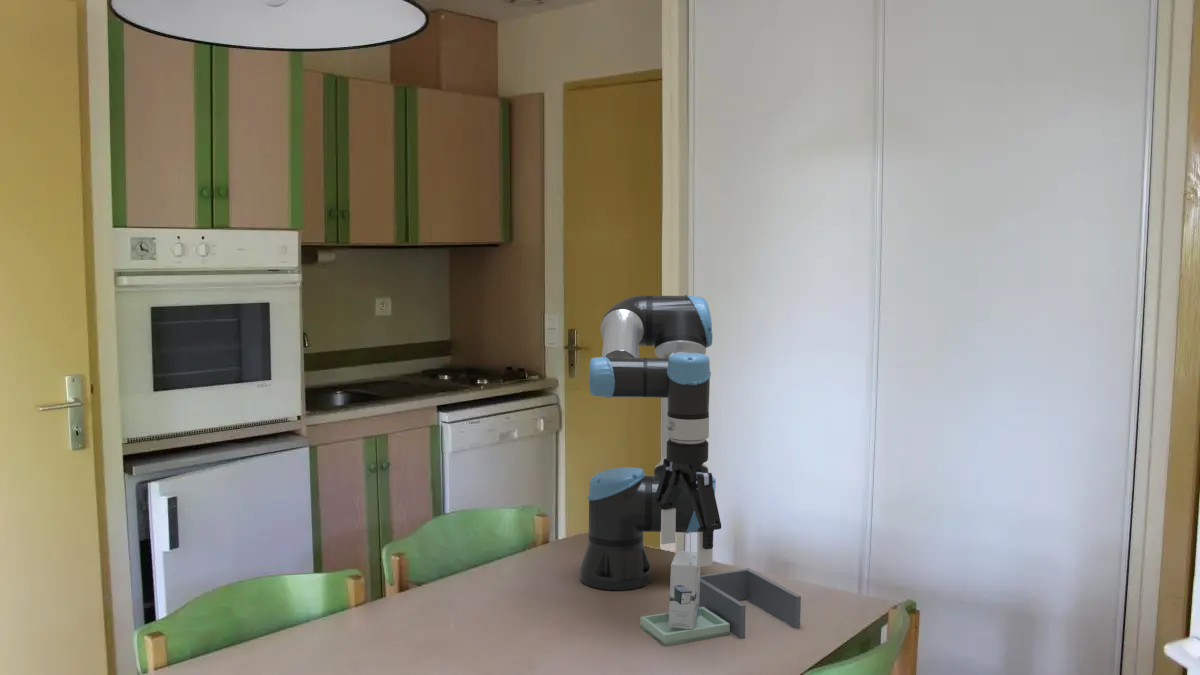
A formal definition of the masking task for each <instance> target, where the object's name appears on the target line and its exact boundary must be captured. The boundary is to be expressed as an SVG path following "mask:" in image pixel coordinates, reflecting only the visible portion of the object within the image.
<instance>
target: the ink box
mask: <svg viewBox="0 0 1200 675" xmlns="http://www.w3.org/2000/svg"><path fill="white" fill-rule="evenodd" d="M700 575H701V567H698V566H697V551H684V550H676V551H675V554H674V556H673V559H672V561H671V564H670V580H669V581H670V584H669V585H670V586H669V601H668V602H669V606H668V607H669V608H668V612H669V624H668V626H669V627H675V628H683V629H692V630H693V629H694V628H695V624H696V621H697V617H698V614H699V596H700Z"/></svg>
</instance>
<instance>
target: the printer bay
mask: <svg viewBox="0 0 1200 675" xmlns="http://www.w3.org/2000/svg"><path fill="white" fill-rule="evenodd" d="M746 600H747V602H749V603H752V604H753V605H755V606H756V607H758V608H759V609H762V610H763V609H764V612H767V613H768V612H769V614H770V613H771V616H773V615H774V616H773V617H775V618H777V619H779V620H780V621H782V622H783V623H785V622H786V624H787V625H789V626H790V625H791V626H790V627H792V628H793V629H795V628H796V629H800V628H801V608H802V607H801V606H802V602H801V601H802V596H801V595H799V594H797V593H796V592H794V591H792V590H790V589H788V588H786V587H785V586H782V585H781V584H780V583H776V581H773V580H771V579H769V578H767V577H766V576H764V575H762V574H760V573H758V572H756V571H755V570H753V569H751V568H741V569H735V570H734V569H733V570H727V571H721V572H713V573H706V574H700V596H699V607H705V608H706V609H708V610H709V611H711V612H712V613H714V614H715V615H717V616H718V617H720V618H721V619H723V620H725V621H726V622H728V623H729V624H730V634H732V635H734V636H736V637H737V638H739V639H740V640H741V639H745V638H746V611H747V610H746V608H747V606H746V604H744V603H742V602H741V601H746Z"/></svg>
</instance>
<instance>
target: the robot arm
mask: <svg viewBox="0 0 1200 675" xmlns="http://www.w3.org/2000/svg"><path fill="white" fill-rule="evenodd" d="M712 327H713V326H712V316H711V311H710V307H709V304H708V302H707V300H706V298H704V297H702V296H698V295H696V296H695V295H694V296H693V295H689V294H685V295H647V294H645V295H644V294H642V295H635V296H631V297H628V298H625V299H623V300H620V301H619V302H617V303H616V304H614V305H613V306H612V307H610V308H609V309H608V311H607V312H606V313H604V316H603V317H602V319H601V323H600V336H601V338H602V341H603V342H602V343H603V344H602V352H601V357H598V356H597V357H591V359H590V360H589V367H588V368H589V369H588V390H589V393H590V395H592V397H605V398H660V399H661V400H660V401H661V404H660V405H661V406H660V407H661V408H660V410H661V412H660V413H661V414H660V416H661V417H660V418H661V420H660V421H661V422H660V424H661V425H660V426H661V427H660V428H661V429H660V431H661V432H660V438H661V439H660V440H661V442H660V443H661V444H660V445H661V446H660V448H661V451H660V452H661V455H660V456H661V457H660V458H661V460H660V462H659V463H657V464H656V465H655V466H654V468H653V472H654V473H653V475H646V473H645V472H644V469H642V468H640V467H632V466H625V467H615V468H610V469H606V470H602V471H599V472H597V473H596V474H594V475H593V476H592V477H591V478H590V480H589V486H588V487H589V488H588V495H587V500H588V541H587V546H586V548H585V549H586V550H585V551H584V555H583V558H582V561H581V564H580V567H579V580H580V581H581V583H583V584H584V585H587V586H589V587H591V588H595V589H601V590H607V591H626V590H634V589H638V588H642V587H645V586H647V585H648V584H650V582H651V581H652V569H651V568H652V567H651V564H650V562H649V559H648V555H647V552H646V548H645V545H644V533H646V532H647V533H648V532H651V533H655V532H656V533H660V544H661V545H667V544H674V543H676V533H686V534H689V533H691V534H692V533H697V538H696V539H697V540H696V541H697V542H696V543H697V544H696V552H697V566H698V567H700V568H703V567H710V566H713V557H714V556H713V554H714V553H713V548H714V532H715V530H721V529H722V522H721V517H720V512H719V509H718V504H717V500H716V482H717V480H716V477H714V476H713V473H712V472H709V467H708V466H707V465H706V464H705V463H706V462H708V461H709V441H708V440H707V439H708V438H710V411H709V410H710V390H711V389H710V388H711V387H710V385H711V384H710V382H711V381H710V379H711V375H712V373H711V366H710V364H711V363H710V362H711V361H710V357H709V356H708V355H707V354H706V353H707V348H709V347H711V346H712V345H713V329H712ZM641 346H643V347H654V355H655V356H656V357H640V347H641Z"/></svg>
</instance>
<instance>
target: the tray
mask: <svg viewBox="0 0 1200 675" xmlns="http://www.w3.org/2000/svg"><path fill="white" fill-rule="evenodd" d="M639 618H640V622H639V623H640V625H639V626H640V627H639V628H641V630H643V631H644V632H646V633H647V634H648V635H649V636H651V638H653V639H654V640H656V642H659V644H661V645H662V646H664V647H667V646H675V645H678V644H684V643H690V642H696V641H701V640H706V639H712V638H718V637H723V636H729V635H730V634H731V632H730V624H729V623H728V622H726V621H725V620H723V619H721V618H720V617H718V616H717V615H715V614H714V613H712V612H711V611H709V610H708V609H706V608H705V607H699V614H698V617H697V621H696V624H695V628H694V629H693V630H692V629H683V628H675V627H669V626H668V624H669V611H668V612H663V613H661V612H660V613H655V614H649V615H643V616H640V617H639Z"/></svg>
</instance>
